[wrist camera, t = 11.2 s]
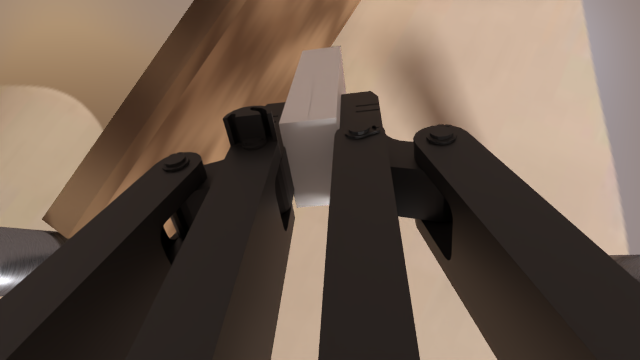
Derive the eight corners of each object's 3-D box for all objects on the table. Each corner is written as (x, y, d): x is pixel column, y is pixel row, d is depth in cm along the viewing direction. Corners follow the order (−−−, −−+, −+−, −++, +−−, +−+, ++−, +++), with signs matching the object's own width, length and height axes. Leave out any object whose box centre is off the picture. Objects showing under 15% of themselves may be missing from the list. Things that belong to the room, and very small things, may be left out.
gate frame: (160, 324, 31) (-97, 399, 14) (161, 233, 32) (-71, 205, 16) (558, 309, 27) (837, 387, 11) (542, 207, 28) (767, 134, 12)
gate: (199, 247, 30) (66, 238, 17) (180, 233, 30) (37, 215, 18) (362, -3, 32) (350, -176, 19) (342, -12, 32) (318, -188, 19)
